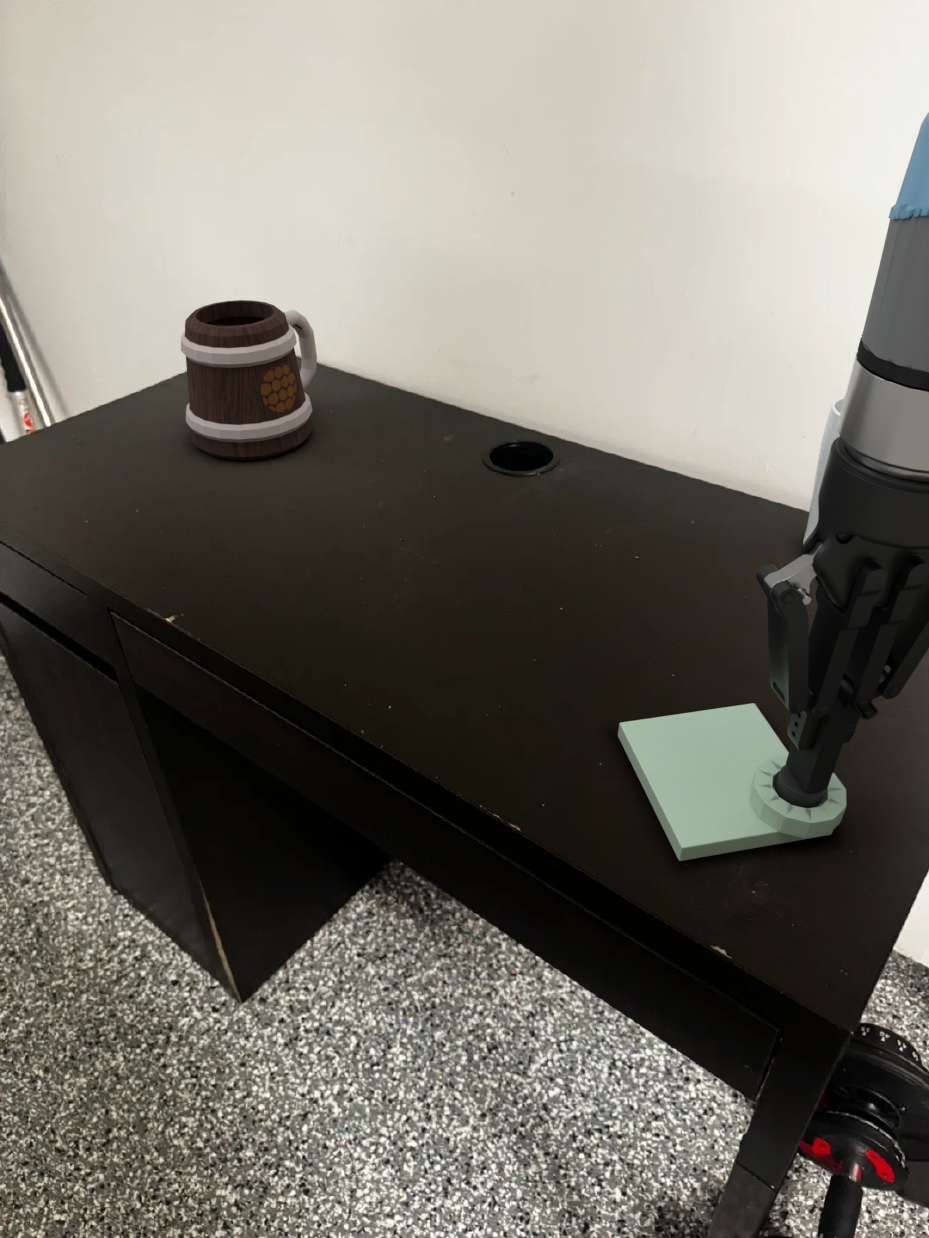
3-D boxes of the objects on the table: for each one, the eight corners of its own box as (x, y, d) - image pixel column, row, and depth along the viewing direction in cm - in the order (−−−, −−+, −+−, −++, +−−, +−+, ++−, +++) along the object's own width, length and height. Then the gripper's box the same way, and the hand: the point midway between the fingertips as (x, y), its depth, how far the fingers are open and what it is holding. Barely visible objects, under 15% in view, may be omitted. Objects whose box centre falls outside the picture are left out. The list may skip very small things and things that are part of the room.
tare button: (829, 807, 59) (835, 791, 58) (788, 814, 59) (793, 798, 58) (807, 774, 61) (812, 758, 61) (766, 780, 61) (771, 764, 60)
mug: (255, 476, 101) (235, 345, 92) (163, 443, 108) (136, 319, 99) (364, 415, 115) (355, 296, 106) (276, 390, 121) (261, 276, 112)
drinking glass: (795, 565, 87) (834, 421, 78) (792, 530, 92) (828, 392, 83) (869, 574, 85) (917, 429, 76) (861, 538, 91) (905, 399, 82)
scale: (852, 843, 60) (864, 813, 58) (684, 873, 58) (691, 843, 56) (762, 714, 70) (770, 685, 68) (617, 735, 68) (621, 706, 66)
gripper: (978, 408, 49) (864, 723, 63) (757, 429, 47) (690, 750, 61) (1080, 469, 43) (929, 802, 57) (833, 497, 41) (739, 835, 55)
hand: (806, 775), depth 59 cm, fingers closed
